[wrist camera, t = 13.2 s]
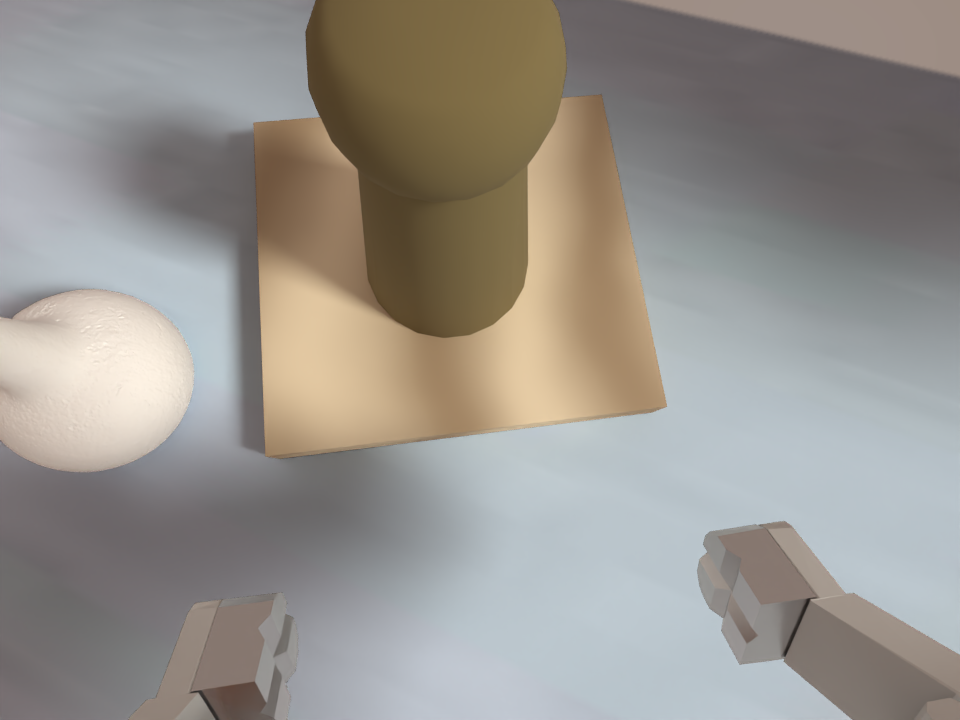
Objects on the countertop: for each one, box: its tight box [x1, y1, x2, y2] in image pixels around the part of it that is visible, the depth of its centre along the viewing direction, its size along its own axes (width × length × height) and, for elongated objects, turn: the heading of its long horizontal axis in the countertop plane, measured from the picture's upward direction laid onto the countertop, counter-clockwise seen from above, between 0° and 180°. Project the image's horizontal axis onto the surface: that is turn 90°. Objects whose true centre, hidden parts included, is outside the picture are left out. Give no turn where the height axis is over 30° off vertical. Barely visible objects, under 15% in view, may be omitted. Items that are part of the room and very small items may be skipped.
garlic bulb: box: [0, 289, 194, 472], centre depth 16 cm, size 6×6×8 cm
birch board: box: [254, 95, 667, 459], centre depth 21 cm, size 14×13×2 cm
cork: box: [306, 0, 567, 338], centre depth 15 cm, size 6×6×11 cm
